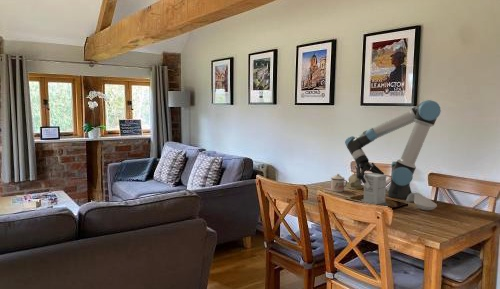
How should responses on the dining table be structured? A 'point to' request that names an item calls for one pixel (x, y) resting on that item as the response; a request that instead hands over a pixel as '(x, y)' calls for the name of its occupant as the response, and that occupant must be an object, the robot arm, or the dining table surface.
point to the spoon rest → (421, 201)
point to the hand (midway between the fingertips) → (377, 186)
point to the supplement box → (375, 188)
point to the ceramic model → (354, 182)
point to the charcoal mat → (378, 204)
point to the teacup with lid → (338, 183)
